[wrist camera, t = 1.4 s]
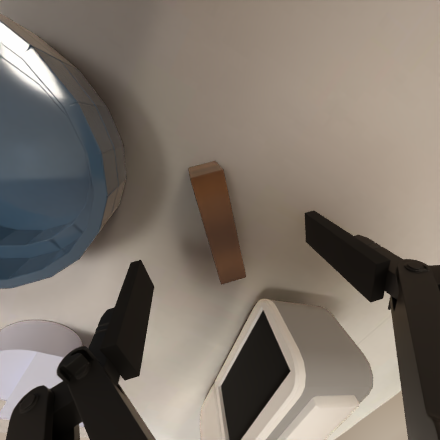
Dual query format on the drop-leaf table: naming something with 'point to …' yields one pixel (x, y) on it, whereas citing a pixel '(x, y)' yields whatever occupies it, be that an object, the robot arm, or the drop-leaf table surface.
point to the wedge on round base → (31, 358)
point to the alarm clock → (286, 377)
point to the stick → (218, 219)
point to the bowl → (51, 160)
